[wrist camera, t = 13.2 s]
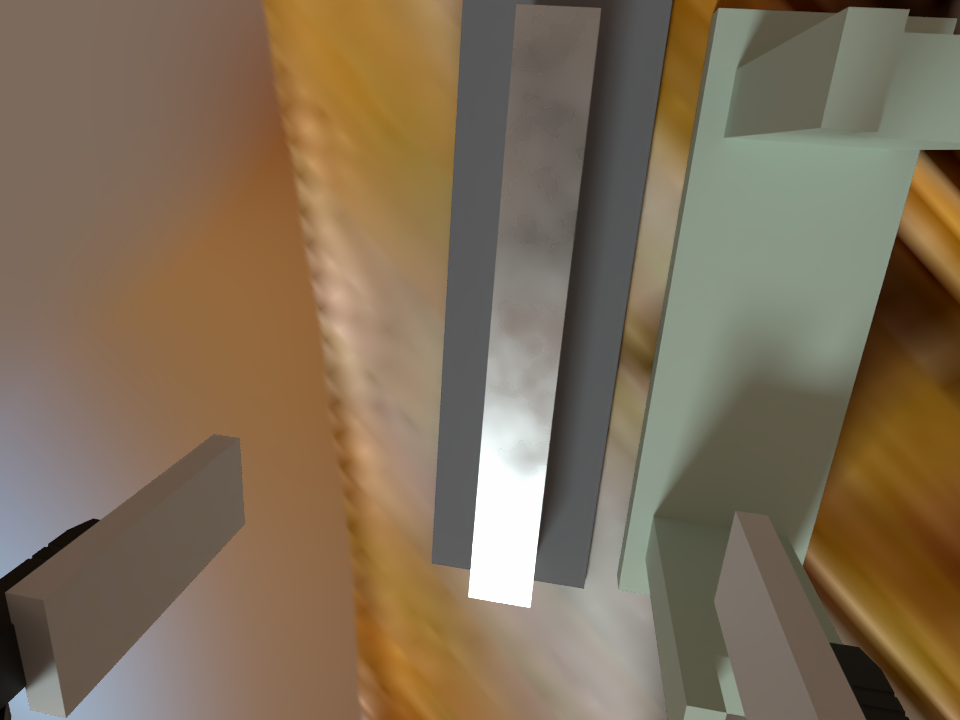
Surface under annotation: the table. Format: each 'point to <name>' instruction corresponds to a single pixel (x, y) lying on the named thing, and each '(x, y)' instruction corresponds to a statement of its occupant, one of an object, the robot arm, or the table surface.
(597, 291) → the rubber mat
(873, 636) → the table surface
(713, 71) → the notched post rack
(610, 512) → the table surface
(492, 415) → the steel rail
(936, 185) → the table surface
